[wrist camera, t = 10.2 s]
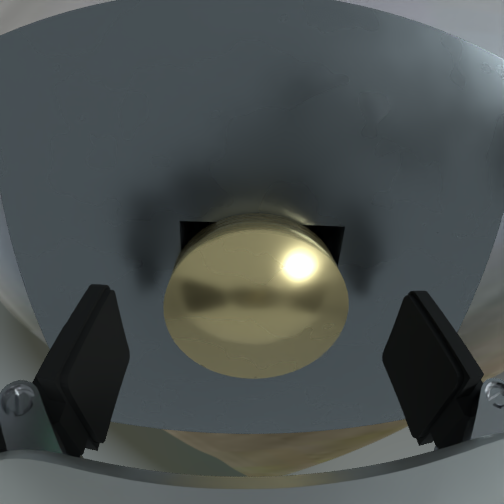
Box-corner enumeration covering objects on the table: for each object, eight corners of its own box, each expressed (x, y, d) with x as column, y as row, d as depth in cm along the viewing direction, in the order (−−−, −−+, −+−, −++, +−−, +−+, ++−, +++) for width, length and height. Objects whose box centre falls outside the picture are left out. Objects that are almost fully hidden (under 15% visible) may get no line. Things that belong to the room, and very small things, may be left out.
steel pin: (306, 163, 17) (366, 237, 9) (296, 258, 20) (329, 376, 12) (197, 159, 17) (153, 230, 9) (199, 255, 20) (174, 375, 11)
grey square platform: (428, 67, 15) (525, 71, 7) (372, 336, 24) (406, 418, 17) (84, 49, 14) (-8, 38, 6) (117, 331, 23) (84, 416, 16)
